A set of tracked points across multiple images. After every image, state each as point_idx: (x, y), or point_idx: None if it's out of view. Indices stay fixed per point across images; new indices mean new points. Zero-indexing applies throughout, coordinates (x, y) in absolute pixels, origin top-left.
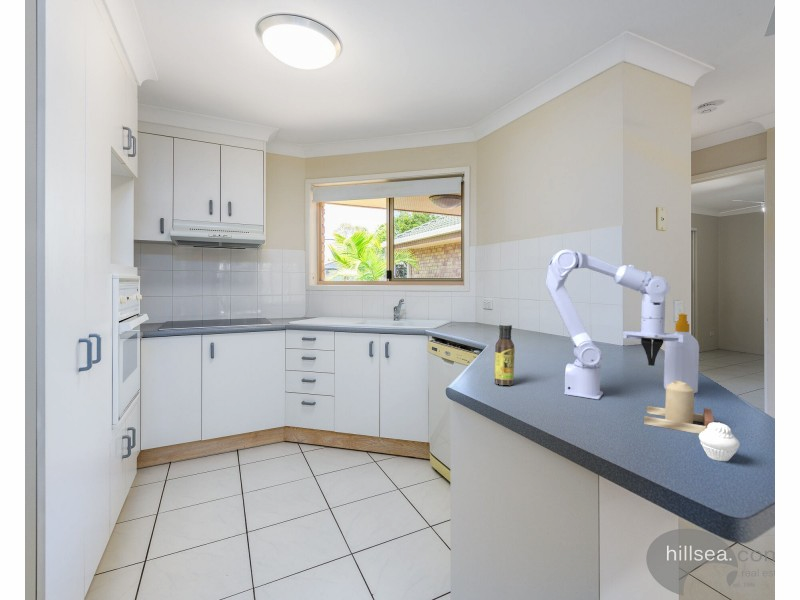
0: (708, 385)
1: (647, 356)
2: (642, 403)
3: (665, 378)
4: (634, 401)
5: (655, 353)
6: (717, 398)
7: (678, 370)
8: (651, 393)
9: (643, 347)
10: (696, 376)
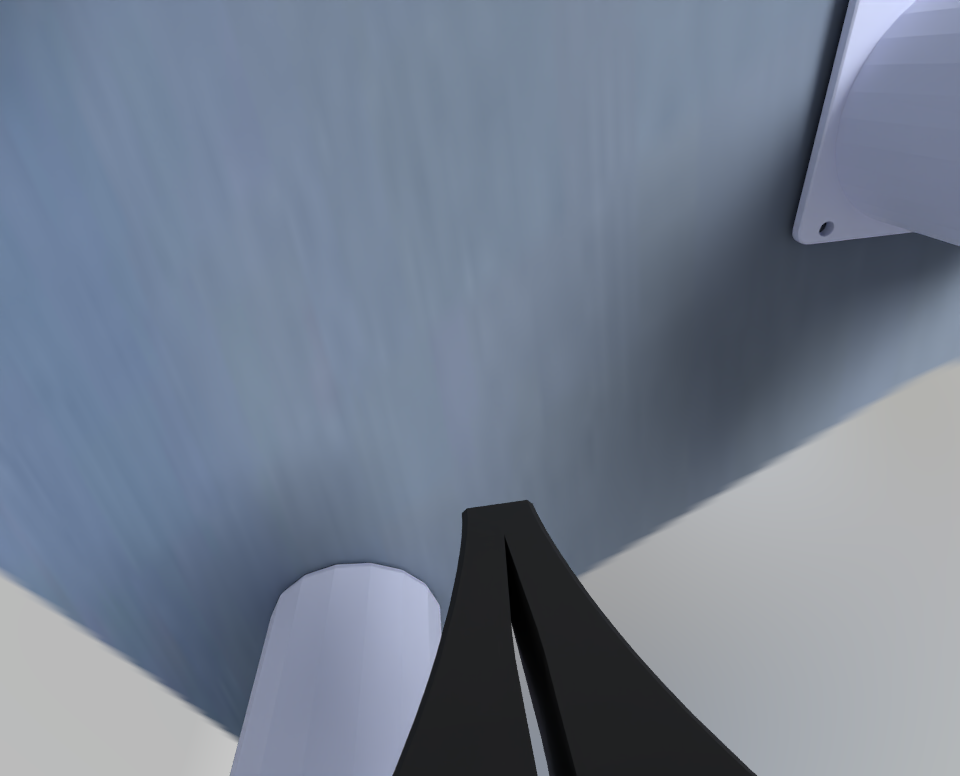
0: None
1: (583, 597)
2: (492, 144)
3: (428, 646)
4: (555, 166)
5: (459, 684)
6: (157, 589)
7: (335, 712)
8: (478, 466)
9: (754, 773)
10: (246, 714)
